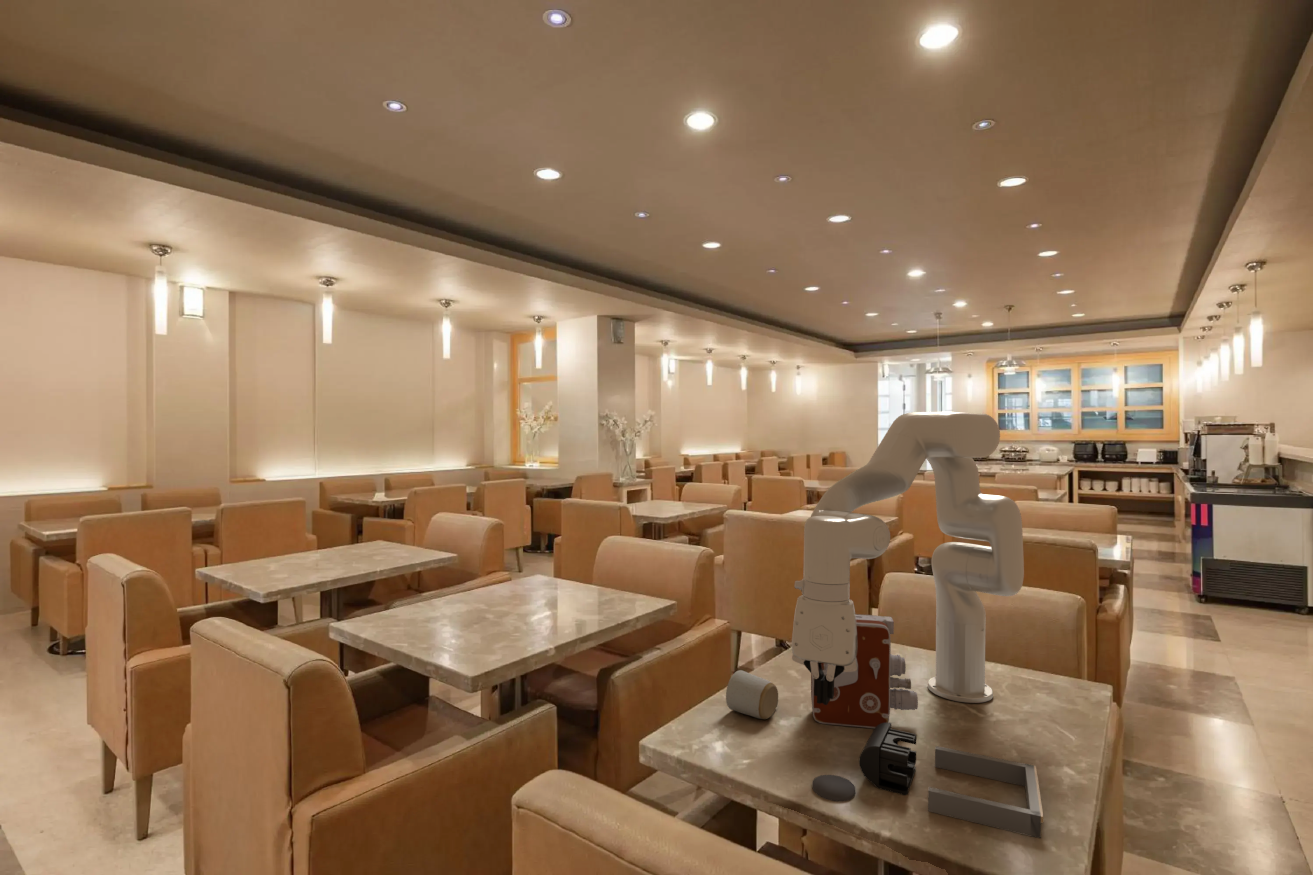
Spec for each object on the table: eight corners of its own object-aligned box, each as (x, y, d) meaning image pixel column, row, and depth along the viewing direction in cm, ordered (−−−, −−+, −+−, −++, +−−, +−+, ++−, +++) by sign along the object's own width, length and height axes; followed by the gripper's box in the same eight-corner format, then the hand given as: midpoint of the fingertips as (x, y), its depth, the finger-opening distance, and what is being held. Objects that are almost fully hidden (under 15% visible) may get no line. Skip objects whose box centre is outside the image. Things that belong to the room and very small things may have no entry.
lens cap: (817, 777, 107) (817, 771, 107) (858, 786, 104) (858, 780, 104) (807, 796, 101) (808, 790, 101) (851, 807, 98) (851, 800, 98)
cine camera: (921, 736, 120) (922, 626, 120) (811, 726, 124) (812, 620, 124) (912, 715, 129) (913, 613, 129) (810, 706, 133) (810, 607, 133)
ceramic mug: (761, 726, 124) (762, 685, 124) (724, 714, 129) (725, 675, 129) (788, 709, 132) (788, 670, 132) (752, 698, 137) (753, 661, 137)
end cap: (872, 757, 113) (872, 718, 112) (916, 768, 109) (916, 727, 109) (858, 785, 104) (858, 742, 104) (906, 797, 100) (906, 753, 100)
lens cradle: (935, 763, 110) (935, 745, 110) (1035, 784, 104) (1035, 765, 104) (928, 811, 97) (928, 790, 97) (1043, 838, 90) (1043, 816, 90)
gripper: (775, 589, 110) (773, 700, 110) (869, 601, 104) (866, 718, 104) (787, 581, 117) (785, 685, 117) (876, 592, 110) (873, 702, 110)
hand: (823, 701), depth 110 cm, fingers closed
